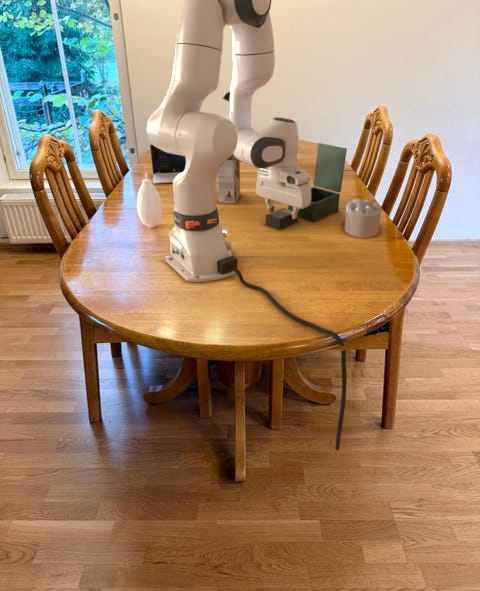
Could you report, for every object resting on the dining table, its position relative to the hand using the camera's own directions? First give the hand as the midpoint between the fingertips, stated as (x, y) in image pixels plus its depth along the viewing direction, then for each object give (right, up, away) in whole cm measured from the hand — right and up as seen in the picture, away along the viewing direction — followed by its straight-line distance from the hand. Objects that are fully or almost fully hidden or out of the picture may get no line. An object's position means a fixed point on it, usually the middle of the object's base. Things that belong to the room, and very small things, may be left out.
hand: (281, 214), depth 158 cm
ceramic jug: (-14, +42, +78) cm, 90 cm away
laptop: (-41, +22, +45) cm, 64 cm away
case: (+11, +2, +9) cm, 15 cm away
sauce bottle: (-42, -4, 0) cm, 42 cm away
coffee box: (-17, +9, +22) cm, 30 cm away
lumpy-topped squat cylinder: (+24, -6, -4) cm, 26 cm away
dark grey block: (0, -3, +1) cm, 3 cm away
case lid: (+16, +17, +6) cm, 24 cm away
